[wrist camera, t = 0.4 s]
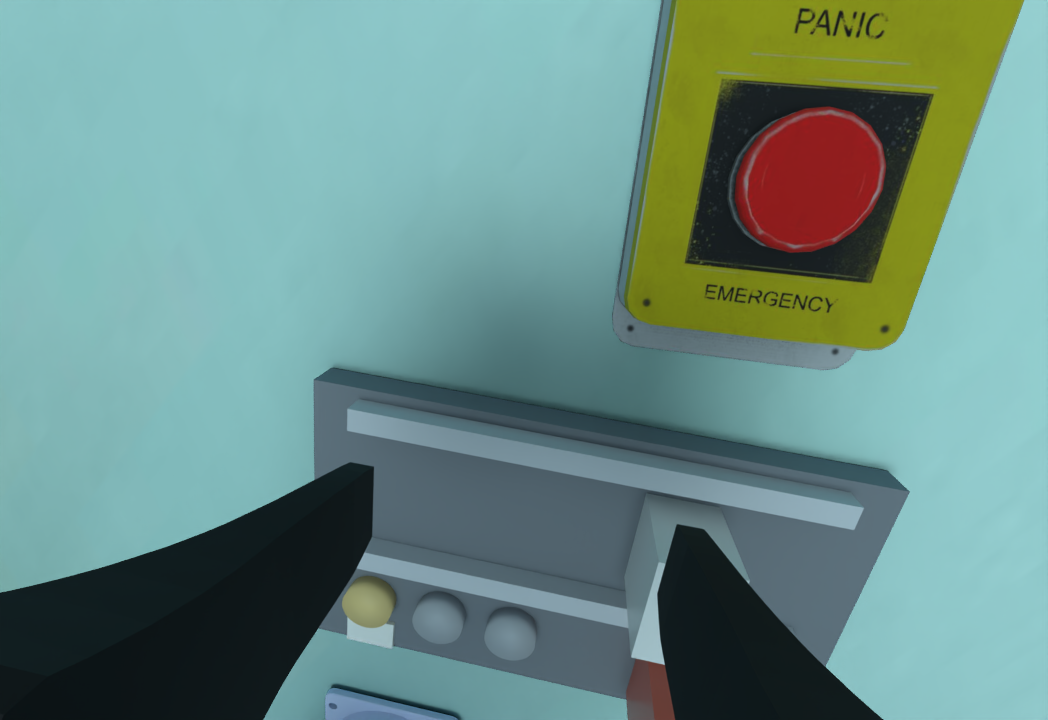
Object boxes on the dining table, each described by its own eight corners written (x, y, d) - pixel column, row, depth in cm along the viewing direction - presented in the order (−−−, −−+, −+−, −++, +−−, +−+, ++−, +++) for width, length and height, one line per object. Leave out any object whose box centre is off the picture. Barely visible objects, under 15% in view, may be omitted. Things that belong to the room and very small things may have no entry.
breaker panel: (779, 706, 25) (799, 760, 22) (330, 604, 27) (305, 644, 24) (887, 470, 20) (926, 507, 18) (331, 367, 22) (300, 388, 19)
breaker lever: (692, 591, 21) (713, 675, 18) (624, 576, 21) (631, 657, 18) (720, 507, 20) (749, 580, 16) (646, 493, 20) (658, 562, 16)
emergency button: (611, 375, 16) (709, -229, 11) (607, 339, 20) (677, -115, 15) (908, 414, 15) (1158, -225, 10) (841, 368, 19) (996, -104, 14)
